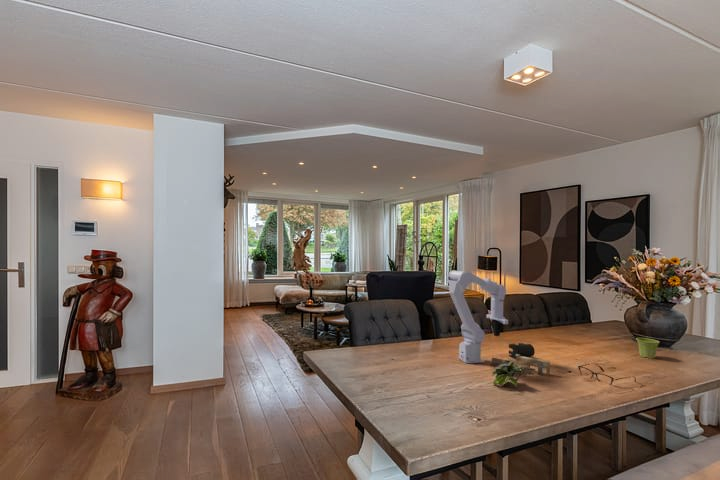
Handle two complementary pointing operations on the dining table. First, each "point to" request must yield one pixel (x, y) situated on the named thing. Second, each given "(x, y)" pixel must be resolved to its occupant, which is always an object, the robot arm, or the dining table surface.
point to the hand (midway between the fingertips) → (496, 335)
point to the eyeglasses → (601, 374)
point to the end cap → (521, 350)
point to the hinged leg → (532, 362)
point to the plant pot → (647, 347)
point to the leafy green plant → (506, 373)
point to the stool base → (526, 368)
